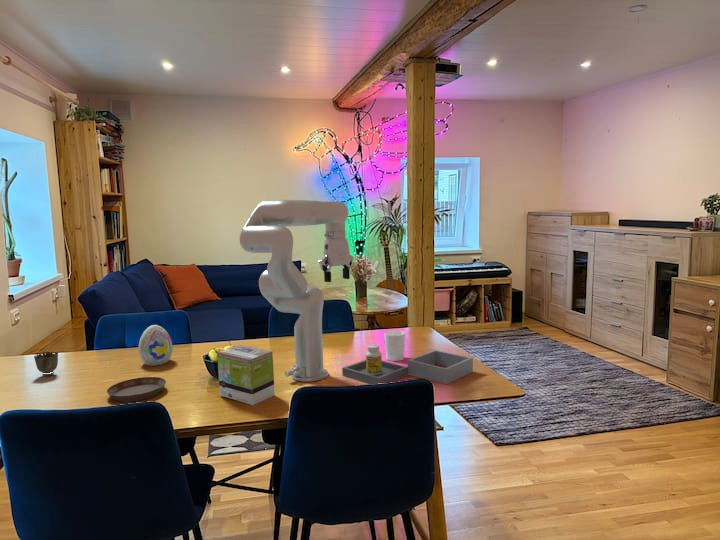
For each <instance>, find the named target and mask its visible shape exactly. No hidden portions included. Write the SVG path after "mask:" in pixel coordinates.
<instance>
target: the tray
mask: <svg viewBox="0 0 720 540" xmlns="http://www.w3.org/2000/svg"><path fill="white" fill-rule="evenodd" d="M341 369H342V376H343V377H346V378H349V379H352V380H356V381H359V382H363V383H365V384H369V385H372V384H378V383H387V384H389V383H392V382H394V381H397V380H399V379H401V378H404V377H407V376H408V375H409V374H408V366H406V365H402V364H398V363H394V362H390V361H386V360H382V373H381V374H379V375H370V374H367V368H366V359H363V360H361V361H358V362H356V363H353V364H349V365H348V366H347V365H346V366H344V367H342V368H341Z"/></svg>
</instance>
